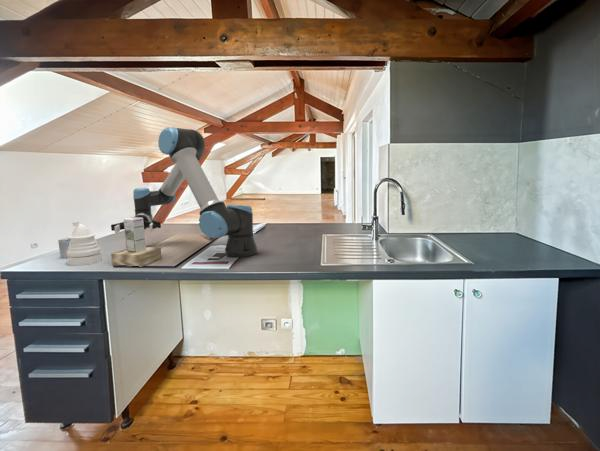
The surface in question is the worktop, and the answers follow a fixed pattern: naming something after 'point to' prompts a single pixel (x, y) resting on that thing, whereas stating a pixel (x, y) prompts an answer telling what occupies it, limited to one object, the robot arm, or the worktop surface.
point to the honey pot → (82, 246)
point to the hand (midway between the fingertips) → (133, 229)
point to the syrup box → (134, 234)
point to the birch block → (136, 257)
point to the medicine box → (63, 247)
